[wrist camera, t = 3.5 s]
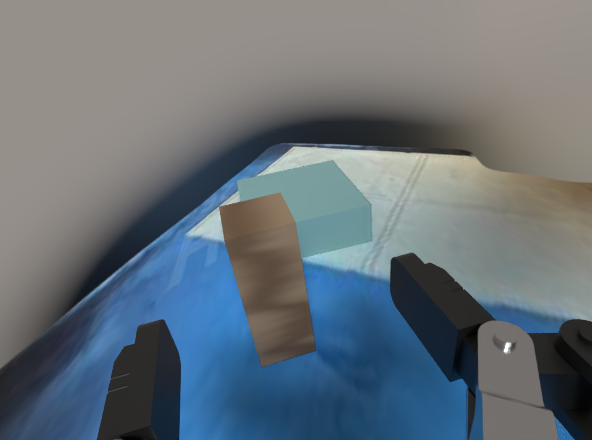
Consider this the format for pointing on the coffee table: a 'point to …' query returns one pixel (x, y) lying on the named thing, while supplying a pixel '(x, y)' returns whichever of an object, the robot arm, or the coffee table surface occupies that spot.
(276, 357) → the walnut pillar
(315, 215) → the teal block
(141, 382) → the robot arm
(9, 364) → the coffee table surface
